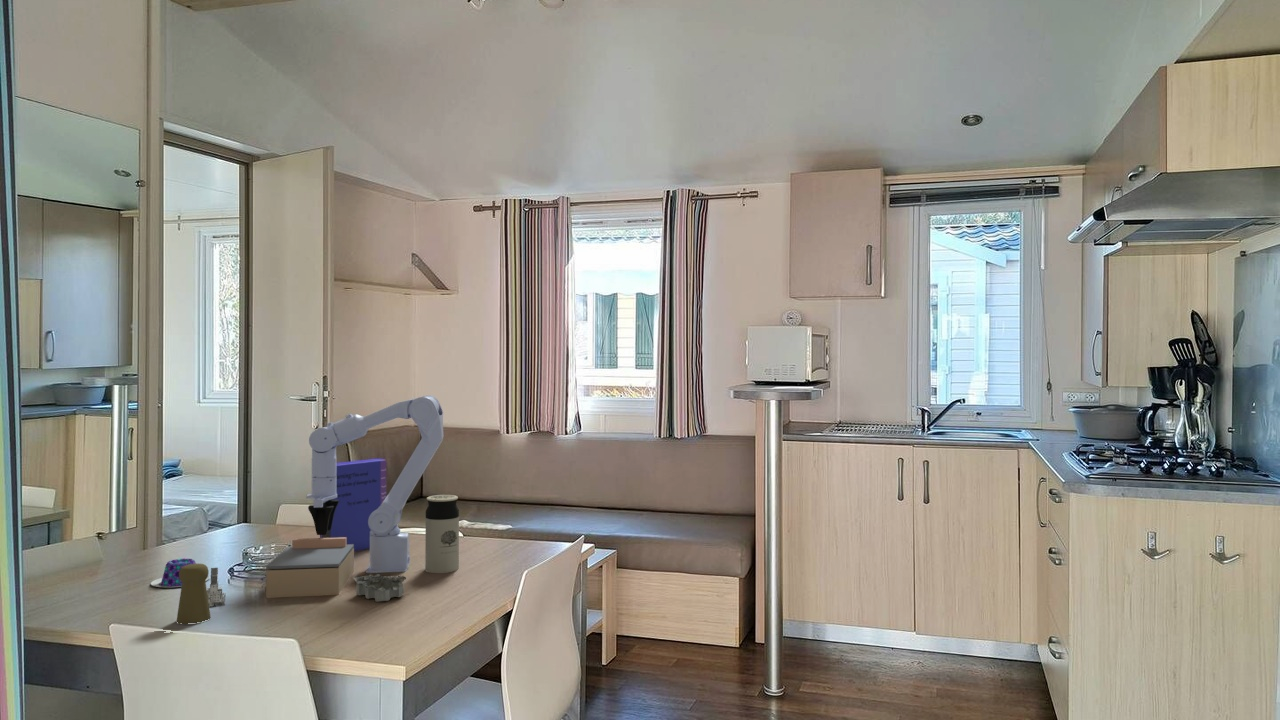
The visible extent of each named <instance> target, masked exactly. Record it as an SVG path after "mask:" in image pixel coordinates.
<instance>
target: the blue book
mask: <svg viewBox="0 0 1280 720" xmlns="http://www.w3.org/2000/svg"><path fill="white" fill-rule="evenodd" d="M386 497H387V460H386V459H384V458H370V459H362V460H361V459H360V460H353V461H345V462H344V461H343V462H342V461H341V462H337V498H335V499H332V500H339V503H338V505H337V507H336V510H335V513H334V517H333V523H332V527H331V530H327V534H326V535H319V538H338V537H347V544H354V547H353V548H354V552H358V551H363V550H367V549H368V550H369V549H370V531H371V529H370V528H369V525H368V519H369V516H370V514H371V513H372V512H373V511H375V510H377V509H378V508H379V506H381V504H382V502H383V501H384V500H385V498H386Z"/></svg>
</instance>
